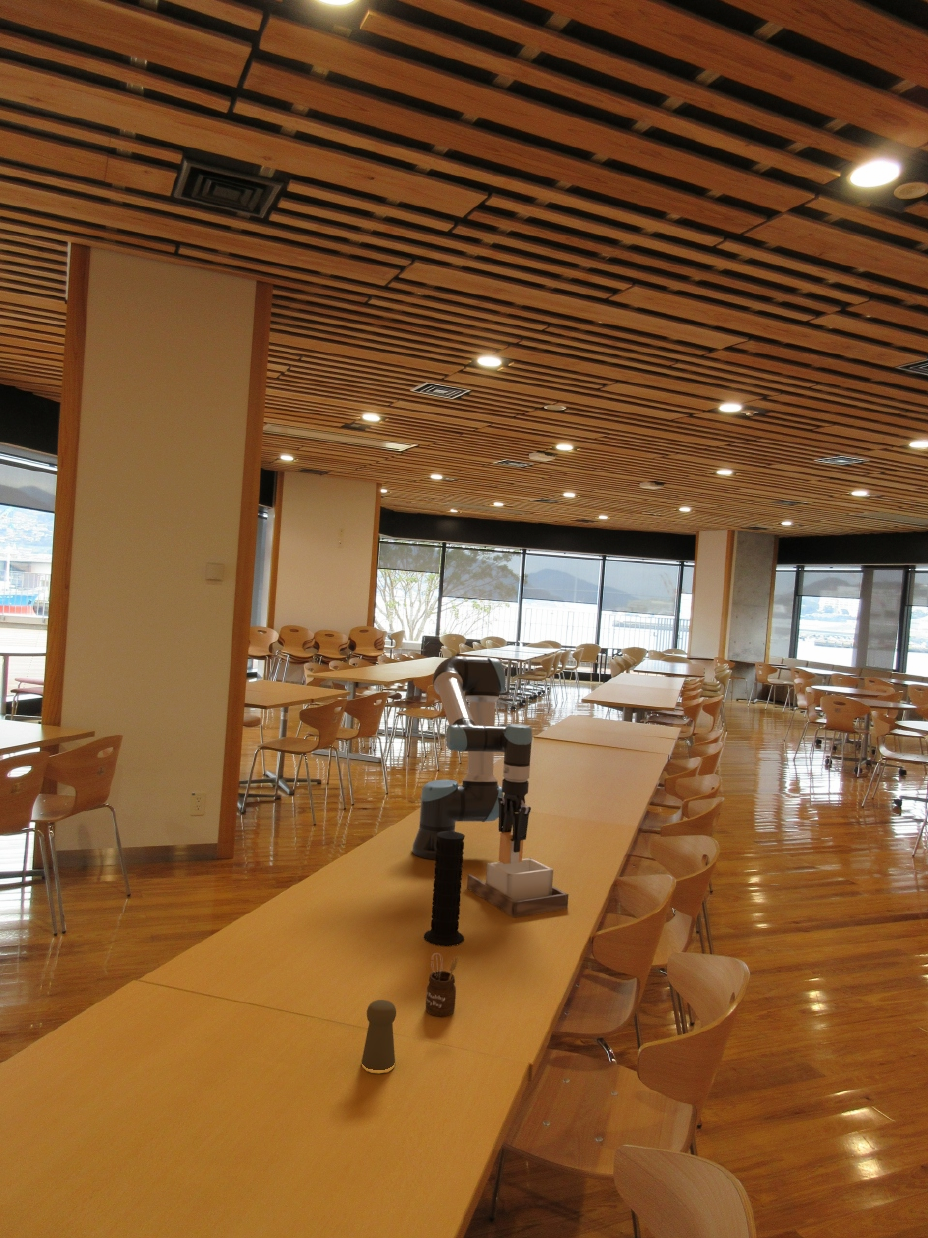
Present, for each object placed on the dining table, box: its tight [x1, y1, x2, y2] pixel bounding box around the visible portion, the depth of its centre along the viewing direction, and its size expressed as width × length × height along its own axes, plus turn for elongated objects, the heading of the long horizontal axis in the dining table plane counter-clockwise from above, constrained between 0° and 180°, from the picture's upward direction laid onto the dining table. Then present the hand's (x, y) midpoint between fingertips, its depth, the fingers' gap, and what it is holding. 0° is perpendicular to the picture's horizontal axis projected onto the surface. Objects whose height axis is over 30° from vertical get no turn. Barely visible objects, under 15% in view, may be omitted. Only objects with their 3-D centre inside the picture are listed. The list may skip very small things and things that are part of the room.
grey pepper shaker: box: [361, 999, 397, 1070], centre depth 152 cm, size 6×6×11 cm
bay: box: [466, 873, 569, 918], centre depth 242 cm, size 24×18×4 cm
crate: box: [485, 831, 554, 901], centre depth 242 cm, size 12×15×16 cm
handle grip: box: [423, 831, 466, 947], centre depth 210 cm, size 10×26×10 cm
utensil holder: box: [425, 952, 460, 1018], centre depth 173 cm, size 6×6×12 cm
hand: (510, 860), depth 246 cm, fingers closed on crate, 3 cm apart
